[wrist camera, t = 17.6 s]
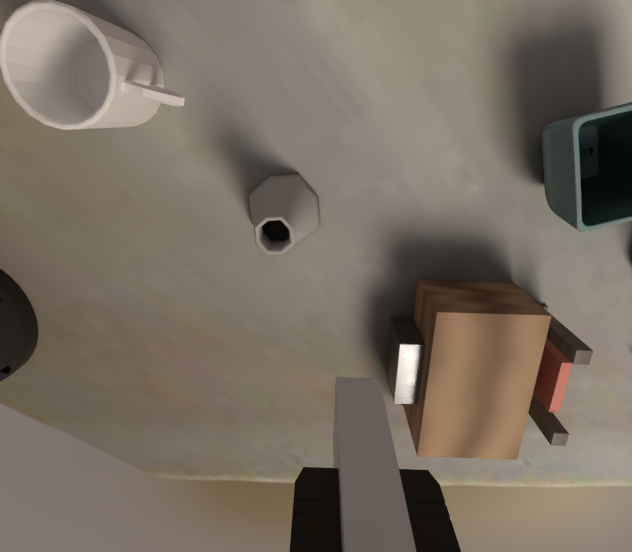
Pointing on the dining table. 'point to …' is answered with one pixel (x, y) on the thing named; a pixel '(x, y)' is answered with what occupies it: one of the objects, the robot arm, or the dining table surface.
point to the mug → (79, 69)
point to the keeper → (552, 377)
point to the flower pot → (590, 168)
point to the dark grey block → (405, 360)
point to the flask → (283, 212)
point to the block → (483, 369)
